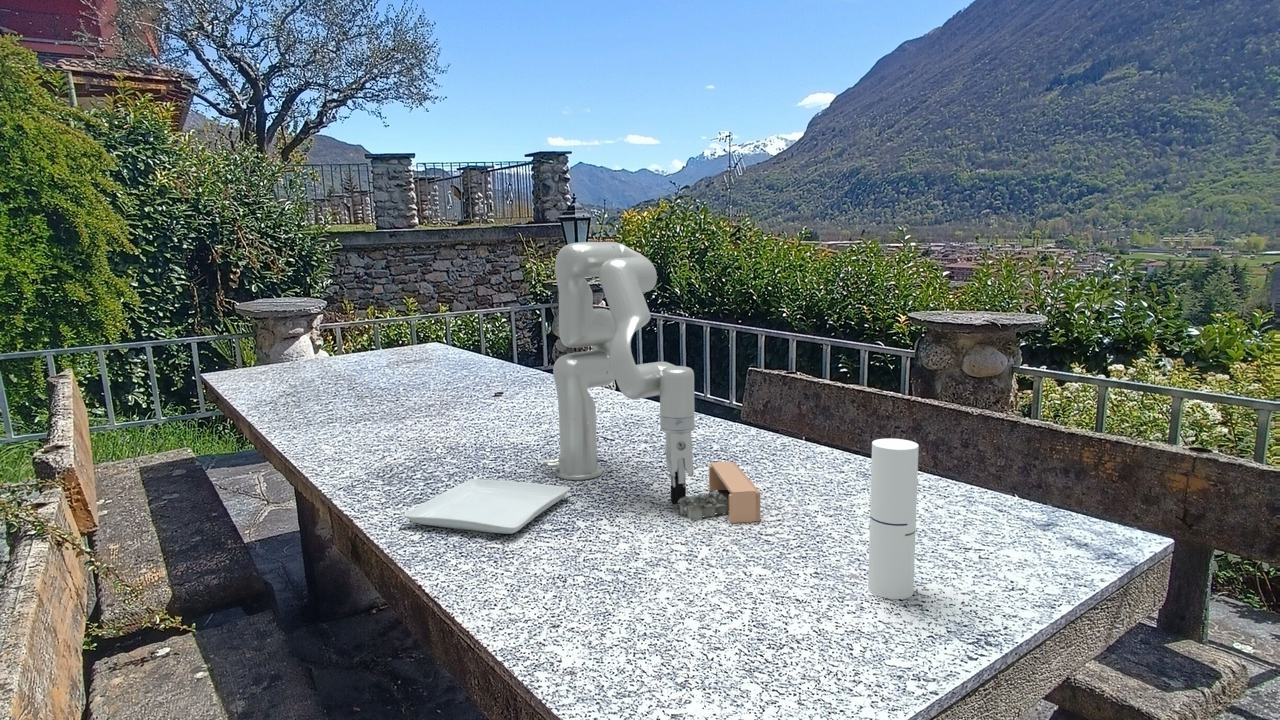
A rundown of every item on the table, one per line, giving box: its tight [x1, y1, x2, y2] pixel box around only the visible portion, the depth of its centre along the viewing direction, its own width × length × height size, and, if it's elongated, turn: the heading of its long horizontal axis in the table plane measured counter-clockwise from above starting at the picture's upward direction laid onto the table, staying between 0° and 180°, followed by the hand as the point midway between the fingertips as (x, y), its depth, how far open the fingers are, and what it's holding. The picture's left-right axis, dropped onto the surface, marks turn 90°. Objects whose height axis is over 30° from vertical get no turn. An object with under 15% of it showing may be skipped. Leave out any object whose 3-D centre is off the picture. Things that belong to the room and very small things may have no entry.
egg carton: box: [678, 490, 729, 521], centre depth 161 cm, size 11×8×4 cm
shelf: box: [708, 461, 761, 524], centre depth 165 cm, size 6×22×7 cm, turn 6°
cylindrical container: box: [867, 438, 920, 600], centre depth 121 cm, size 7×7×25 cm
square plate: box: [402, 478, 572, 535], centre depth 163 cm, size 27×27×4 cm
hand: (678, 503), depth 164 cm, fingers closed
